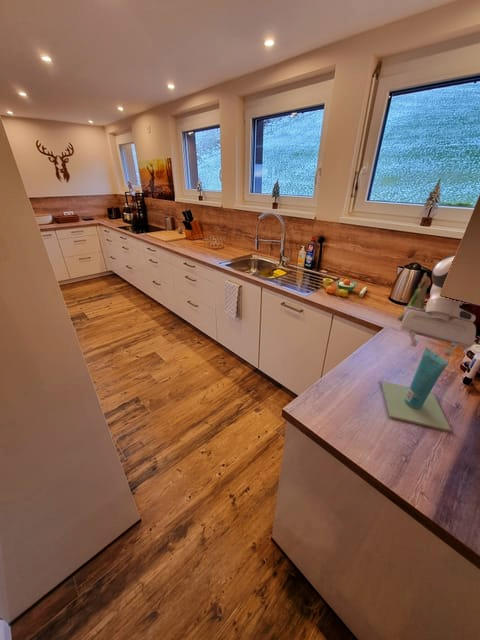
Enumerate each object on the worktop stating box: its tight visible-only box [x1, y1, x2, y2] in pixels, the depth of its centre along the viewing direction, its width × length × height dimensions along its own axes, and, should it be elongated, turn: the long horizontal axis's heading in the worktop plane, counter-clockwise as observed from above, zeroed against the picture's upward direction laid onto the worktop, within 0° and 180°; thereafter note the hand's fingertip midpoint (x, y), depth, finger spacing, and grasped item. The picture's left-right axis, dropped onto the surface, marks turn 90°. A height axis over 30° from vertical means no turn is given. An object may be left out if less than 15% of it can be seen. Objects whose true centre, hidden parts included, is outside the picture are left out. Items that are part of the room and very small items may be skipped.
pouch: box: [399, 272, 429, 321], centre depth 130 cm, size 11×12×25 cm
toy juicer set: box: [322, 277, 368, 298], centre depth 166 cm, size 29×18×8 cm, turn 79°
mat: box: [381, 381, 452, 433], centre depth 84 cm, size 16×16×1 cm
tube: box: [405, 347, 450, 409], centre depth 79 cm, size 7×5×19 cm, turn 20°
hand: (429, 350), depth 86 cm, fingers open, 8 cm apart
